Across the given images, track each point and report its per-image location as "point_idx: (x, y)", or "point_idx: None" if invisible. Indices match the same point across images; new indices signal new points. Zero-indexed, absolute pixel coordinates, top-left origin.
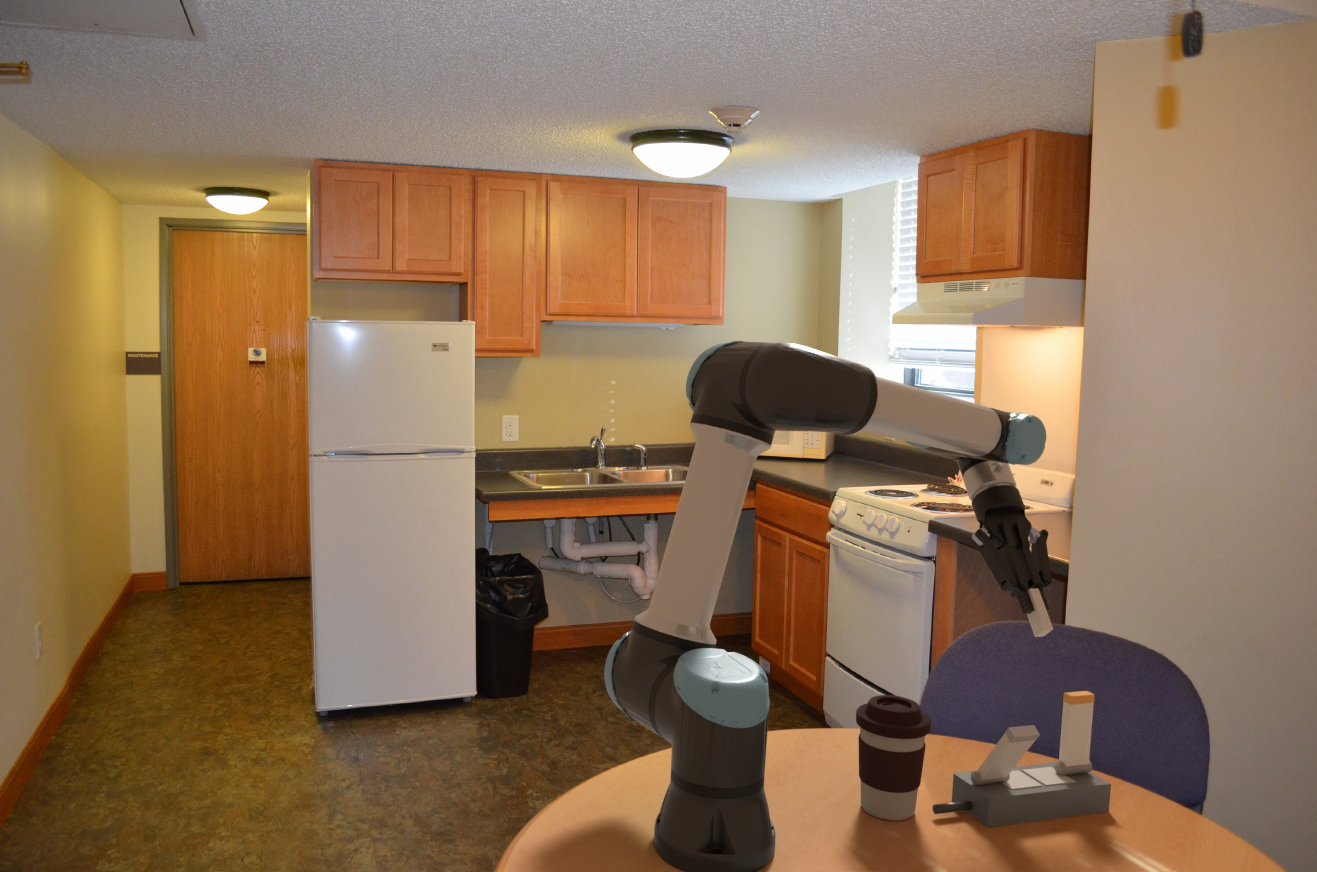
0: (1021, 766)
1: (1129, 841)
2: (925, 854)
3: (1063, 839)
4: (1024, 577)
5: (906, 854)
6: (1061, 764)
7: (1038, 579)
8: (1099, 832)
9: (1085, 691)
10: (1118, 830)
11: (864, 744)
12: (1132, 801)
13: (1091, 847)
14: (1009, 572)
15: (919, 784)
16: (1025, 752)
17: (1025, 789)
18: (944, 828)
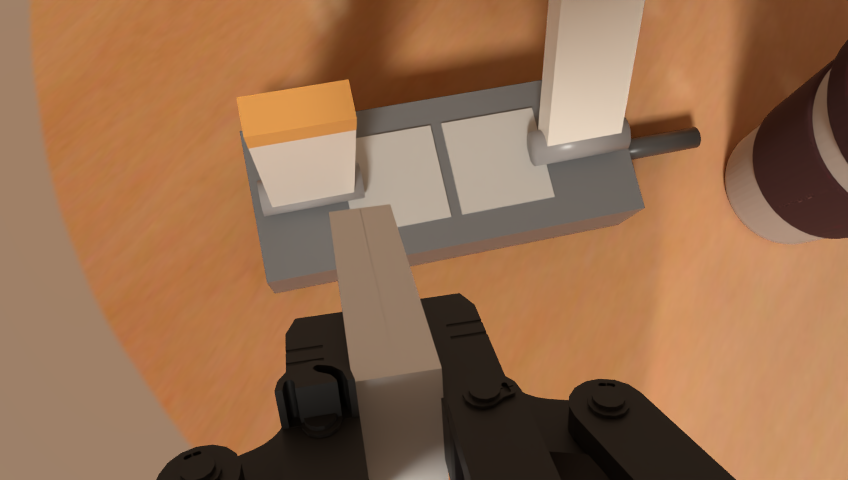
0: (438, 244)
1: (290, 23)
2: (748, 4)
3: (437, 40)
4: (475, 455)
5: (784, 6)
6: (359, 168)
7: (314, 466)
8: (336, 63)
9: (254, 131)
10: (284, 69)
11: None
12: (147, 206)
13: (393, 5)
14: (650, 471)
15: (765, 118)
16: (547, 24)
17: (493, 110)
18: (678, 99)
